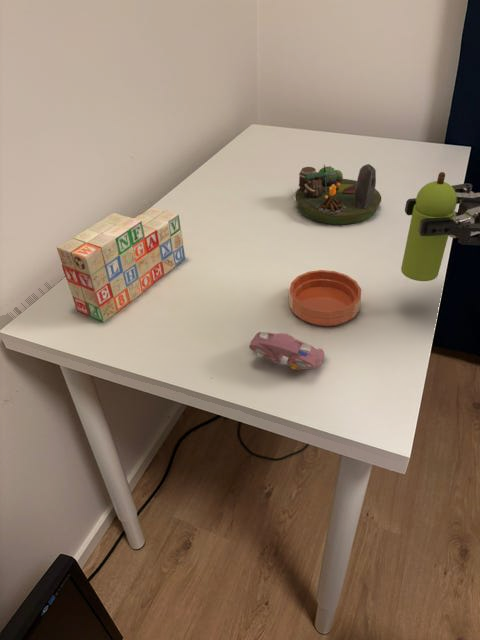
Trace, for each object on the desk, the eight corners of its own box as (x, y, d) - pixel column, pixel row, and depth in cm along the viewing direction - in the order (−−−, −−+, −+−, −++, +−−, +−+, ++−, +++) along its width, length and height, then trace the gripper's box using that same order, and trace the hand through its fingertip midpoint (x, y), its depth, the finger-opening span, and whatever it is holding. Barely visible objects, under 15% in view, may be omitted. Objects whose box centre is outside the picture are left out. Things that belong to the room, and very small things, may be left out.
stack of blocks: (160, 251, 93) (150, 190, 85) (186, 259, 90) (178, 197, 82) (75, 311, 79) (54, 245, 71) (103, 323, 76) (84, 256, 68)
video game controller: (252, 363, 70) (241, 345, 64) (263, 336, 72) (254, 315, 66) (317, 384, 67) (312, 366, 61) (328, 354, 68) (324, 334, 62)
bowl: (373, 310, 76) (376, 294, 74) (319, 337, 72) (321, 321, 70) (327, 278, 84) (328, 262, 81) (275, 301, 79) (275, 285, 77)
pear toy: (445, 273, 70) (473, 173, 61) (421, 285, 68) (445, 184, 59) (417, 257, 74) (439, 161, 64) (393, 269, 72) (412, 171, 62)
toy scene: (348, 235, 94) (354, 184, 88) (277, 209, 104) (278, 160, 98) (395, 203, 104) (404, 154, 97) (326, 182, 114) (330, 136, 107)
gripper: (520, 161, 69) (401, 169, 68) (580, 208, 58) (438, 217, 57) (503, 210, 73) (392, 217, 73) (556, 261, 62) (425, 270, 62)
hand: (413, 217), depth 65 cm, fingers closed on pear toy, 5 cm apart
